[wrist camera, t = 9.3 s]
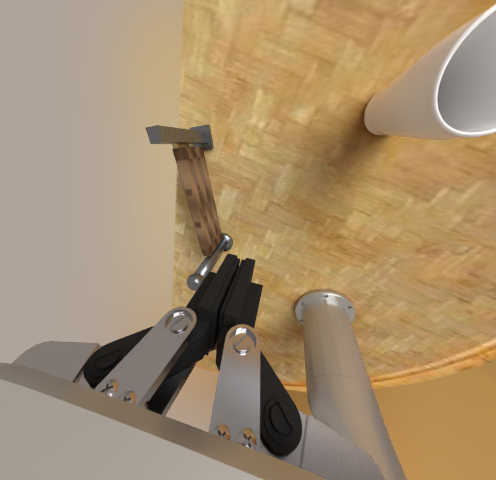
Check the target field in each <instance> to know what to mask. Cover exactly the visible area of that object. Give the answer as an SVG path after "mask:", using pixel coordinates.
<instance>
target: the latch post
mask: <svg viewBox="0 0 496 480" xmlns="http://www.w3.org/2000/svg"><path fill="white" fill-rule="evenodd" d="M146 131H147V133H148V137H149V140H150V143H151V144H172V145H173V149H175V148H181V147H189V144H194V147H203V149H208V148H214V146H213V140H212V135H211V129H210V125H204V126H198V127H192V128H190V130H187V129H180V128H173V127H165V126H158V125H157V126H152V127H147V128H146Z"/></svg>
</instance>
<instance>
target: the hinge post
mask: <svg viewBox="0 0 496 480" xmlns="http://www.w3.org/2000/svg"><path fill="white" fill-rule="evenodd" d="M222 237H223V239H222V240H221V242H220V243H219V244H218V246H217V247H216V249H215V250H214V251H213V253H212V254H211V255H210V256H207V257H206V258H205V259H204V261H203V262H202V263H201V265H200V266H199V267H198V269H197V270H196V271H195V273H193V274H191V275H190V276H189V277H188V279H187V285H188V287H189V288H190V289H191V290H194V291H197V289H198V288H199V286H200V285H201V283H202V282H203V280H204V279H205V277H206V276H207V274H208V273H209V272H210V271H211V270H212V268H213V267H214V265H215V264H216V262H217V260H218V259H219V257H220V256H221V254H222V253H223V251H228V250H230V249H231V247H232V245H233V240H232V238H231V237H230V236H229V235H227V234H225V233H222Z"/></svg>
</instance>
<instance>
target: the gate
mask: <svg viewBox="0 0 496 480" xmlns="http://www.w3.org/2000/svg"><path fill="white" fill-rule="evenodd" d="M173 152H174V156H175V159H176V163H177V166H178V170H179V173H180V177H181V180H182V184H183V187H184V190H185V194H186V197H187V201H188V204H189V208H190V211H191V214H192V218H193V221H194V225H195V228H196V232H197V235H198V238H199V242H200V245H201V249H202V252H203V256H210V255H211V254H212V253H213V251H214V250H215V249H216V247H217V246H218V244H219V243H220V242H221V240H222V239H223V237H222V233H221V228H220V224H219V219H218V215H217V210H216V206H215V201H214V197H213V192H212V188H211V183H210V179H209V174H208V170H207V165H206V161H205V156H204V152H203V147H181V148H175V149H173Z"/></svg>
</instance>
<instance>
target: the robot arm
mask: <svg viewBox="0 0 496 480" xmlns="http://www.w3.org/2000/svg"><path fill="white" fill-rule="evenodd" d="M239 263H240V259H238V258H237V256H236V255H232V254H227V256H226V258H225V259H224V261H223V263H222V264H221V266H220V268H219V270H218V271H217V273H213V272H209V273H208V274H207V276H206V277H205V279H204V280H203V282H202V283H201V285H200V286H199V288H198V289H197V291H196V293H195V294H194V296H193V297H192V299H191V300H190V302H189V303H188V305H187V306H186V307H179V308H175V309H173V310H171V311H169V312H168V313H167V314H165V315H164V317H163V318H162V319H161V320H160V321H159V322H158V323H157V324H156V325H155V326H153V327H150V328H147V329H145V330H142V331H140V332H137V333H134V334H132V335H129V336H127V337H124V338H121V339H119V340H116V341H113V342H111V343H109V344H106V345H104V346H100V345H99V344H97V343H78V342H55V341H50V342H43V343H41V344H38V345H35V346H34V347H32V348H30V349H28V350H26V351H25V352H24V353H23V354H22V355H20V356H19V357H18V358H17V359H16V360H15V361H14V362H13V363H12V364H8V363H0V480H407V479H406V477H405V474H404V472H403V470H402V467H401V464H400V462H399V460H398V457H397V455H396V452H395V450H394V447H393V445H392V442H391V440H390V437H389V434H388V431H387V429H386V426H385V424H384V420H383V417H382V415H381V412H380V409H379V406H378V403H377V400H376V397H375V394H374V391H373V388H372V385H371V382H370V379H369V376H368V373H367V370H366V367H365V364H364V361H363V358H362V355H361V352H360V349H359V346H358V343H357V340H356V337H355V334H354V331H353V328H352V325H351V324H352V322H353V321H354V319H355V309H354V306H353V304H352V303H351V301H350V300H349V299H348V298H347V297H345V296H343V295H342V294H339V293H337V292H333V291H327V290H318V291H313V292H310V293H307V294H305V295H303V296H302V297H301V298H300V299H299V300H298V301H297V303H296V305H295V314H296V317H297V319H298V321H299V322H300V323H301V324H302V325H303V337H304V353H305V369H306V385H307V397H308V403H309V407H310V410H311V412H312V414H313V416H314V417H312V416H311V415H308V416H307V415H305V414H304V413H302V412H300V411H299V410H298V409H297V407H296V405H295V404H294V402H293V401H292V399H291V397H290V396H289V394H288V393H287V391H286V390H285V388H284V386H283V385H282V383H281V382H280V380H279V379H278V377H277V375H276V374H275V372H274V371H273V369H272V368H271V366H270V364H269V363H268V361H267V360H266V358H265V356H264V355H263V353H262V352H261V350H260V337H259V335H258V333H257V332H256V331H255V329H254V326H255V321H256V316H257V311H258V306H259V301H260V296H261V292H262V287H263V285H260V284H256V283H252V282H251V280H252V275H253V270H254V265H255V260H253V259H249V258H246V260H242V261H241V264H240V266H239ZM216 343H217V353H216V365H217V367H218V370H219V377H218V383H217V388H216V394H215V400H214V405H213V410H212V416H211V422H210V427H209V432H205V431H203V430H200V429H198V428H195V427H192V426H190V425H187V424H184V423H182V422H179V421H176V420H173V419H171V418H168V417H166V414H167V412H168V410H169V409H170V407H171V405H172V403H173V402H174V400H175V399H176V397H177V395H178V394H179V392H180V390H181V389H182V387H183V385H184V383H185V381H186V380H187V378H188V377H189V375H190V373H191V372H192V370H193V368H194V366H195V364H196V362H197V361H199V360H201V359H203V357H204V354H205V355H208V353H209V351H210V349H213V350H214V348H215V346H216Z"/></svg>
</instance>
